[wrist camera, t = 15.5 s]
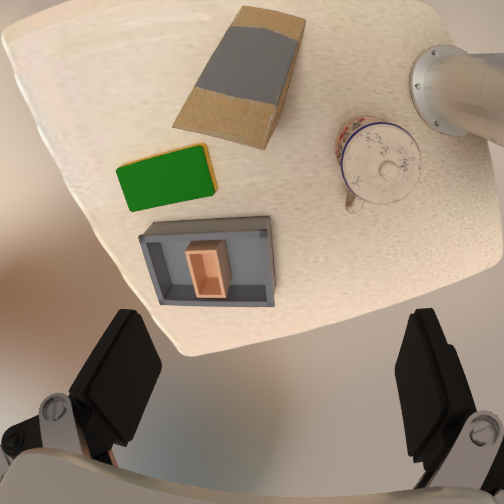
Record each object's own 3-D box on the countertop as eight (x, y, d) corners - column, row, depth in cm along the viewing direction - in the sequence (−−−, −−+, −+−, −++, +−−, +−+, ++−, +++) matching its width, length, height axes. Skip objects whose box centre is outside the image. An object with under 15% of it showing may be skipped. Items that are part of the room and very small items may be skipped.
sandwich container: (309, 19, 30) (315, -16, 17) (277, 127, 38) (266, 152, 25) (241, 4, 30) (210, -34, 17) (213, 111, 38) (169, 128, 25)
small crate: (224, 232, 46) (216, 250, 42) (232, 278, 50) (225, 297, 46) (195, 234, 47) (184, 251, 43) (205, 278, 51) (196, 297, 46)
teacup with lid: (348, 102, 35) (368, 109, 25) (409, 133, 35) (446, 154, 25) (313, 183, 41) (317, 219, 31) (372, 208, 41) (392, 251, 32)
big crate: (270, 214, 44) (267, 230, 40) (277, 286, 50) (274, 307, 46) (152, 221, 47) (138, 236, 43) (170, 286, 54) (160, 304, 49)
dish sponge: (122, 164, 44) (114, 169, 41) (206, 141, 40) (201, 145, 38) (137, 206, 47) (130, 212, 45) (219, 189, 44) (215, 195, 42)
